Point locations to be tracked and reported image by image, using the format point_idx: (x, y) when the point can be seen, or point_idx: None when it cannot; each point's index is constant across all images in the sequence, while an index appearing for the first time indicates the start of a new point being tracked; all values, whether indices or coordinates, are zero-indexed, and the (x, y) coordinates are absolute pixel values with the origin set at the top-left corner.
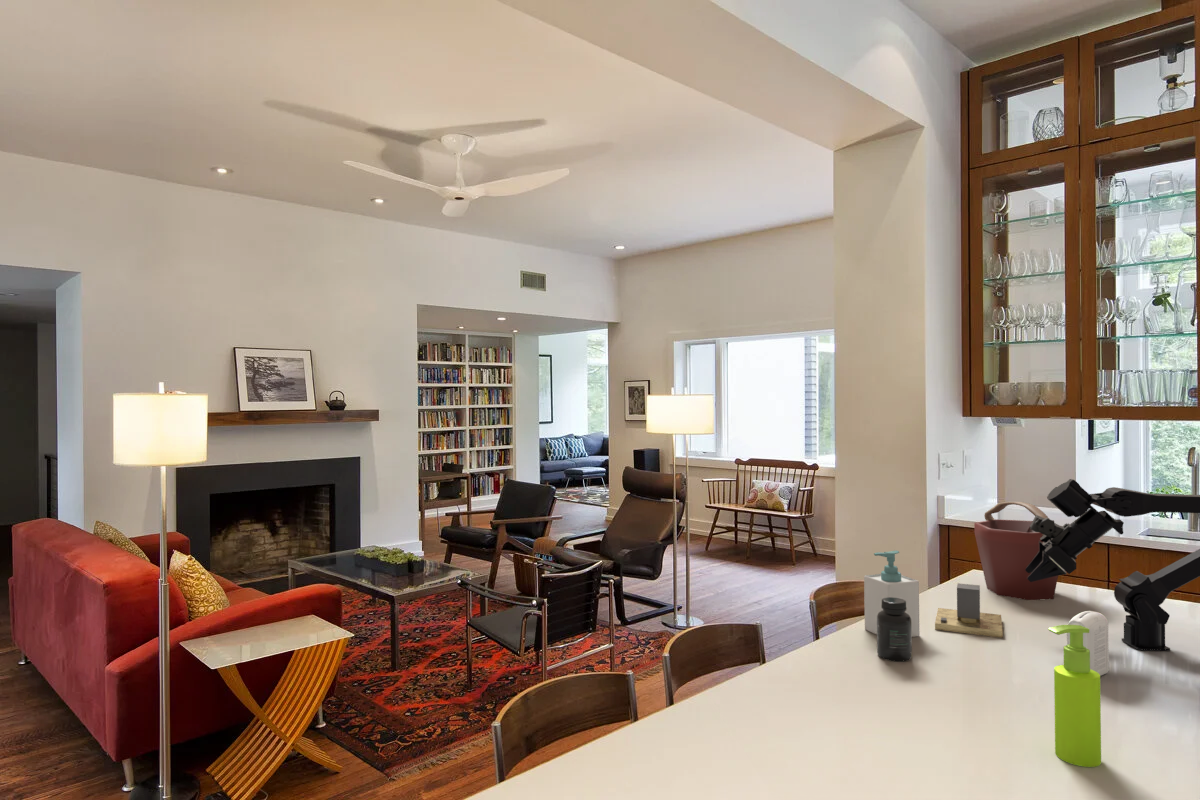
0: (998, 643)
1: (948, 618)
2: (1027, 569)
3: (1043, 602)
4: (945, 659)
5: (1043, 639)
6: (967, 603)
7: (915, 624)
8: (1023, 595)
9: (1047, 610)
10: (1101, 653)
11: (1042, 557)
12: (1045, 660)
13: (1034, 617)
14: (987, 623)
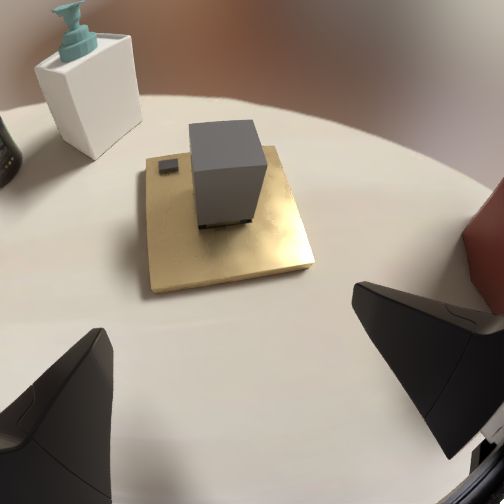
0: (106, 290)
1: None
2: (361, 294)
3: (476, 307)
4: (2, 224)
5: (204, 384)
6: (192, 175)
7: (83, 141)
8: (475, 272)
9: None
10: None
11: (449, 365)
12: None
13: None
14: (205, 245)
